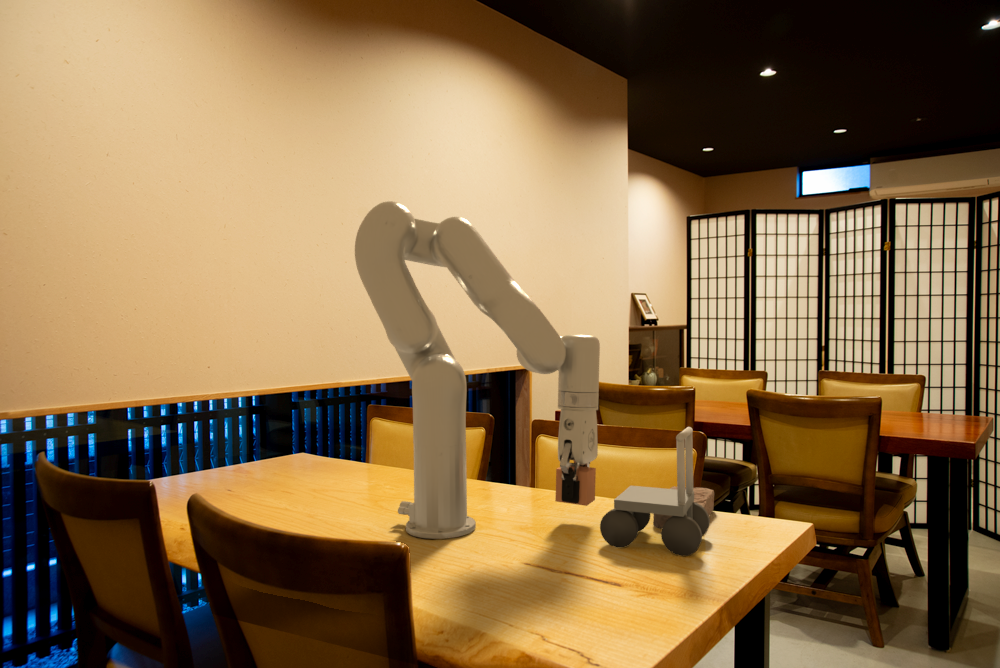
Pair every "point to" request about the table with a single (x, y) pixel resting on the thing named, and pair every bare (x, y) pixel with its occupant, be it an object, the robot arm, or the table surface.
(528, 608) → the table surface
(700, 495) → the brick
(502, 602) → the table surface
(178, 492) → the table surface
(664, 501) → the trolley
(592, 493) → the block
